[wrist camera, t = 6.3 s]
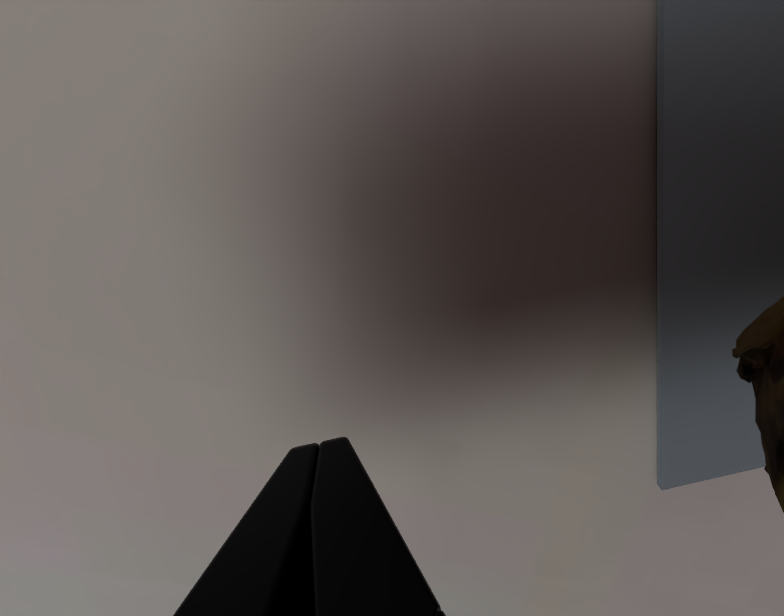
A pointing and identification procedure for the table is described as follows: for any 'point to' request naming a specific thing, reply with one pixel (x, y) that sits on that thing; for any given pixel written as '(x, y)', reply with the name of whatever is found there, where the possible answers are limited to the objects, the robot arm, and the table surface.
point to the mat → (715, 225)
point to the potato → (767, 385)
